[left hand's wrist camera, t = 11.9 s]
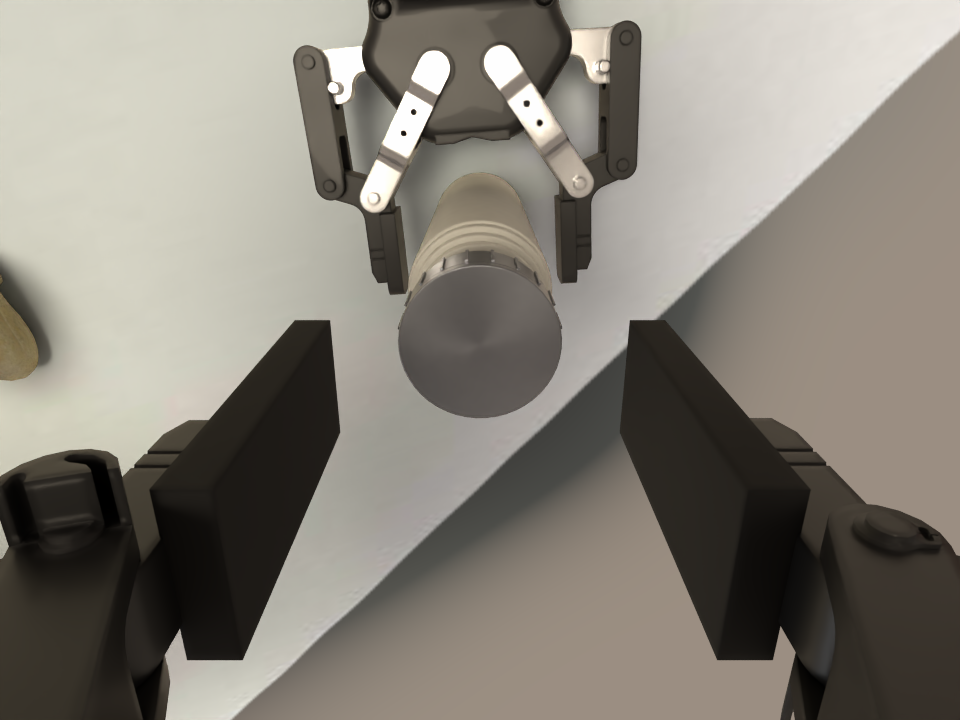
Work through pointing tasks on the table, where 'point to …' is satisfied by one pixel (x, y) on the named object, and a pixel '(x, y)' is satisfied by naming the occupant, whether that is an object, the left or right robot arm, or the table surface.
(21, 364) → the sculpture
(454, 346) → the cap
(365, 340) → the table surface
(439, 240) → the bottle
